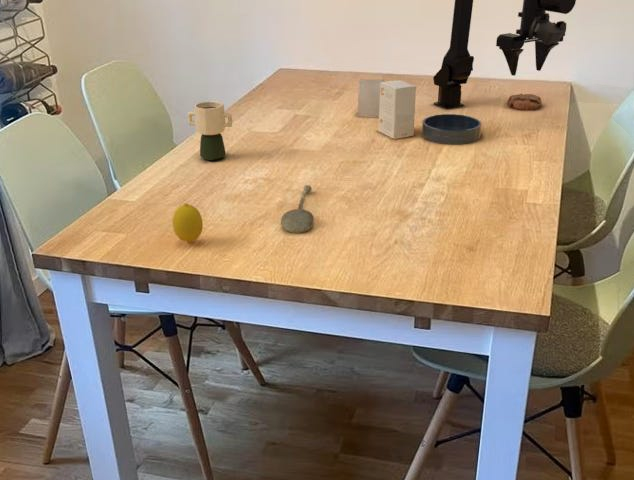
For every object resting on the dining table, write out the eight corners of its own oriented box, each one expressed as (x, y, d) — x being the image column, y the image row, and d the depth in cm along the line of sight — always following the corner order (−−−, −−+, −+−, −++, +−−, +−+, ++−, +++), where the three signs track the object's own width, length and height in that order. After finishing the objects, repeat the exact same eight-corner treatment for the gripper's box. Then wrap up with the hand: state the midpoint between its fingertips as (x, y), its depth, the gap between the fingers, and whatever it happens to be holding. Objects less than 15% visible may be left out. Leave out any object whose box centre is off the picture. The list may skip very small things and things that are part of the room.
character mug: (238, 154, 191) (235, 101, 184) (230, 163, 185) (227, 109, 178) (196, 152, 193) (191, 100, 186) (187, 161, 187) (182, 108, 180)
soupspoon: (278, 235, 151) (311, 238, 150) (278, 220, 149) (311, 222, 149) (293, 190, 169) (323, 193, 169) (293, 176, 167) (323, 178, 167)
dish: (410, 133, 205) (410, 120, 203) (453, 123, 212) (454, 111, 210) (448, 148, 194) (449, 134, 192) (492, 137, 201) (493, 124, 199)
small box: (414, 136, 203) (416, 85, 196) (393, 139, 200) (395, 88, 193) (398, 128, 209) (400, 79, 202) (377, 131, 206) (379, 81, 200)
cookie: (546, 103, 228) (548, 93, 227) (534, 112, 221) (536, 101, 219) (514, 99, 233) (515, 89, 231) (501, 107, 225) (502, 97, 224)
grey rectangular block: (381, 117, 218) (382, 81, 212) (357, 116, 219) (358, 80, 214) (383, 113, 221) (384, 78, 216) (359, 112, 222) (360, 77, 217)
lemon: (176, 237, 149) (171, 198, 145) (204, 236, 149) (201, 197, 145) (174, 249, 144) (169, 210, 140) (203, 248, 145) (200, 208, 140)
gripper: (531, 16, 182) (523, 84, 190) (585, 9, 190) (574, 74, 198) (498, 10, 190) (491, 75, 198) (550, 3, 198) (542, 66, 206)
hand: (526, 72), depth 200 cm, fingers open, 9 cm apart
